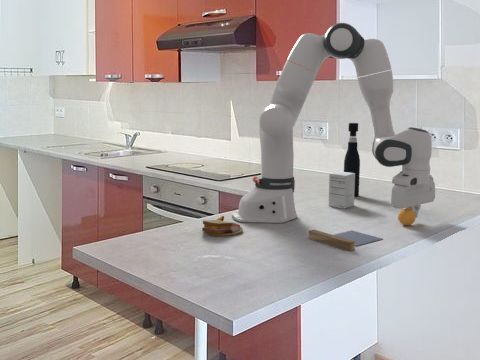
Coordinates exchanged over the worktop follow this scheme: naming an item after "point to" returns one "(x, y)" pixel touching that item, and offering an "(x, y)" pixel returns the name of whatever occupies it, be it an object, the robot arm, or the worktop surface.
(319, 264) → the worktop surface
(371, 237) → the slate square
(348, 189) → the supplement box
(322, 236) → the rail
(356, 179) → the wine bottle
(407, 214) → the ball
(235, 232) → the toy sandwich meal
